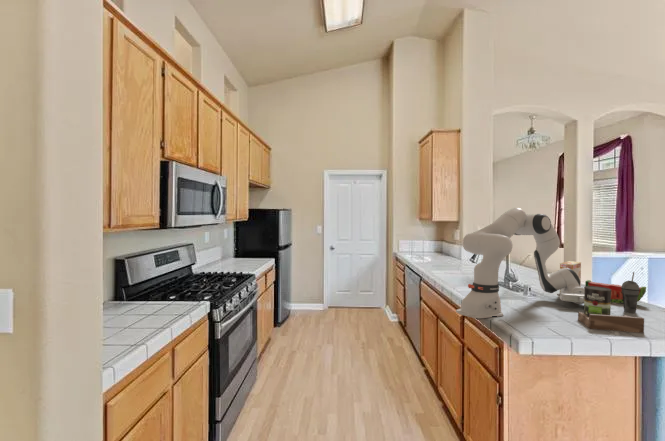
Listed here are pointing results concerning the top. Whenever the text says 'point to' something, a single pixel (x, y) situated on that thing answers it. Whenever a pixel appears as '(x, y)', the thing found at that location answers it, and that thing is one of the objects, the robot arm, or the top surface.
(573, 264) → the coffeecake box
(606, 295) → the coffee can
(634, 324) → the box
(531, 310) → the top surface
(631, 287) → the beverage cup
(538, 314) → the top surface
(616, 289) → the fruit slice
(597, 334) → the top surface
